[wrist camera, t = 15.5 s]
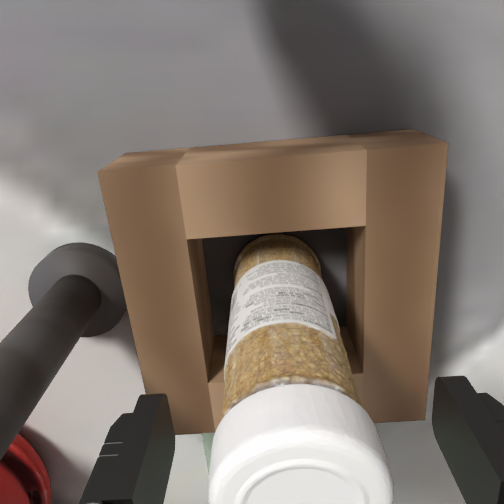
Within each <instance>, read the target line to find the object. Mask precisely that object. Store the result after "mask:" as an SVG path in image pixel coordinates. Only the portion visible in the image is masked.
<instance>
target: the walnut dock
mask: <svg viewBox="0 0 504 504" xmlns="http://www.w3.org/2000/svg"><path fill="white" fill-rule="evenodd" d="M447 154H448V143H447V142H444V141H442V140H439V139H437V138H434V137H432V136H429V135H427V134H424V133H421V132H419V131H416V130H414V129H409V130H397V131H385V132H373V133H361V134H349V135H337V136H325V137H313V138H302V139H290V140H278V141H266V142H254V143H242V144H230V145H218V146H206V147H194V148H182V149H170V150H158V151H146V152H134V153H125V154H124V155H122V156H121V157H119V158H118V159H116V160H115V161H113V162H112V163H110V164H109V165H107V166H106V167H104V168H103V169H101V170H100V171H98V177H99V181H100V186H101V191H102V195H103V200H104V204H105V209H106V214H107V218H108V223H109V227H110V232H111V236H112V241H113V246H114V250H115V255H116V257H115V256H114V255H113V254H111V253H110V252H108V251H107V250H105V249H103V248H101V247H99V246H96V245H92V244H88V243H70V244H66V245H63V246H60V247H58V248H56V249H55V250H53V251H52V252H51V253H50V254H48V255H47V256H46V257H45V258H44V259H43V260H42V261H41V262H40V263H39V264H38V265H37V266H36V267H35V268H34V270H33V272H32V274H31V276H30V279H29V286H28V290H29V297H30V300H31V303H32V305H33V308H32V309H31V310H30V311H29V312H28V313H27V315H26V316H25V317H24V318H23V319H22V320H21V321H20V322H19V323H18V324H17V325H16V326H15V328H14V329H13V330H12V331H11V332H10V333H9V334H8V335H7V336H6V337H5V338H4V339H3V341H2V342H1V343H0V460H1V459H2V457H3V456H4V454H5V453H6V451H7V450H8V448H9V447H10V445H11V443H12V442H13V440H14V439H15V437H16V436H17V434H18V433H19V431H20V430H21V428H22V426H23V425H24V423H25V422H26V420H27V419H28V417H29V416H30V414H31V412H32V411H33V409H34V408H35V406H36V405H37V403H38V402H39V400H40V399H41V397H42V395H43V394H44V392H45V391H46V389H47V388H48V386H49V385H50V383H51V382H52V380H53V378H54V377H55V375H56V374H57V372H58V371H59V369H60V368H61V366H62V365H63V363H64V361H65V360H66V358H67V357H68V355H69V354H70V352H71V351H72V349H73V347H74V346H75V344H76V343H77V341H78V340H79V338H80V337H92V336H97V335H100V334H103V333H105V332H107V331H109V330H110V329H112V328H113V327H114V326H115V325H116V324H117V323H118V322H119V320H120V319H121V317H122V315H123V314H124V312H125V310H126V308H127V310H128V314H129V319H130V324H131V328H132V333H133V337H134V342H135V346H136V351H137V356H138V360H139V365H140V369H141V374H142V379H143V383H144V388H145V392H146V394H161V393H165V394H166V395H167V398H168V402H169V407H170V412H171V417H172V422H173V427H174V432H175V435H182V434H199V433H215V432H216V429H217V427H218V425H219V423H220V419H221V416H222V407H223V395H224V388H225V381H224V366H225V357H226V348H227V338H228V335H215V331H214V324H213V317H212V309H211V302H210V294H209V287H208V280H207V272H206V265H205V257H204V250H203V243H202V238H212V237H225V236H238V235H251V234H264V233H278V232H291V231H304V230H317V229H330V228H343V227H347V327H339V329H340V336H341V338H342V342H343V345H344V348H345V350H346V353H347V358H348V361H349V365H350V368H351V372H352V376H353V378H354V381H355V384H356V388H357V391H358V395H359V398H360V401H361V404H362V407H363V409H364V410H365V411H366V412H367V414H368V415H369V417H370V418H371V420H372V421H373V423H383V422H400V421H416V420H425V414H426V402H427V390H428V379H429V367H430V355H431V343H432V331H433V320H434V308H435V296H436V284H437V272H438V261H439V249H440V237H441V225H442V213H443V202H444V190H445V178H446V166H447Z"/></svg>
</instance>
